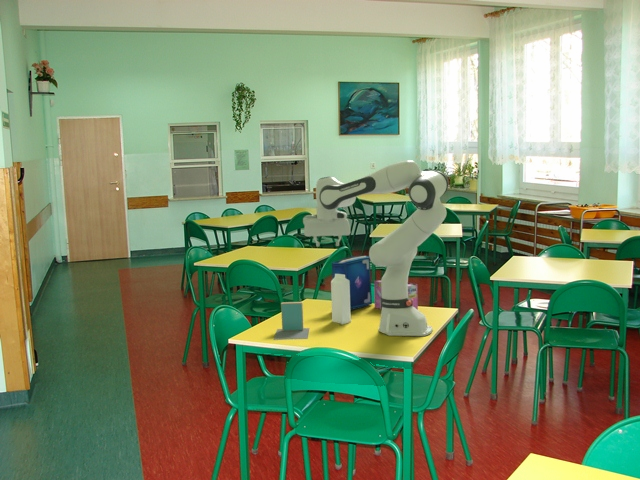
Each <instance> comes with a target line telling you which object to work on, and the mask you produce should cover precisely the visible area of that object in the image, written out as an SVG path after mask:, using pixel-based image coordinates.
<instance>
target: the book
mask: <svg viewBox="0 0 640 480" xmlns="http://www.w3.org/2000/svg"><path fill="white" fill-rule="evenodd" d="M331 273H332V275H331V277H332V280H333V279H334V277H335V274H344V275H345V278H346V279H348V280H349V282H350V311H354V310H358V309H362V308H365V307H367V306H370V305H372V304H373V297H372V295H373V294H372V279H371V278H372V276H371V275H372V274H371V273H372V272H371V260H370V257H369V255H354V256H349V257H348V256H347V257H345V258H341V259H340V260H335V261H333V262H331ZM357 308H358V309H357ZM353 309H354V310H353Z"/></svg>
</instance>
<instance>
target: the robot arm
mask: <svg viewBox="0 0 640 480" xmlns="http://www.w3.org/2000/svg"><path fill="white" fill-rule="evenodd" d="M315 185H316V187H315V199H316V214H306V215H304V217H303V218H302V223H303V226H304V229H303V235H304V236H305V237H312V238H313V241H314V242H315V247H321V246H320V245H321V243H320V241H318V240H317V239H318V238H317V237H326V236H327V237H329V236H332V237H333V236H337V237H338V240H337V241H335V246H336V247H339V246H340V242H341V240H342V236H350V235H351V225H350V221H349V220H348V214H347V213H346V212H345V211H342V210H338V208H346V207H350V206H353V205H354V204H355V202H356V199H357V197H359V196H363V195H365V196H366V195H385V194H386V195H387V194H392V193H396V192H399V191H402V190H405V189H408V192H407V193H408V196H409V200H411V202H412V203H413V204H414V205H415V208H416V210H414V212H413V213H412V214H411V215H410V216H409V217H408V218H407V219H406V220H405V221H404V222H403V223H402V224H400V225H399V226H398V227H396V229H395V230H392V231H391V232H390V233H388V234H387V235H386V236H384V237H383V238H382V239H380V240H379V241H377V242H376V243H374V244H372V246H370V247H369V251H368V256H369V257H370V263H372V264H373V265H374V266H376V267H381V268H382V267H383V268H384V267H385V268H386V270H385V271H384V274H382V275H383V276H382V277H381V280H380V281H381V295H382V297H381V300H380V307H381V309H380V310H381V312H380V320H379V321H380V322H379V325H378V326H379V327H378V332H380V333H383V334H385V335H386V336H392V337H394V336H399V337H402V336H403V337H404V336H405V337H410V336H411V337H425V336H428V335H430V334H431V333H432V332H433V327H432V326H431V325H428V320H427V317H426V315H425V314H424V313H423V312H421V311H420V310H419V309H418V310H417V309H416V308H415V307H413V298H412V299H411V298H409V297H408V283H409V274H410V271H411V270H410V269H411V267H412V262H413V261H414V259H415V257H416V256H417V253H418V247H419V246H421V245H422V244H423V243H424V242H425V241H426V240H427V239H428V238H429V237H430V236H431V235H432V234H434V232H436V230H438V229H439V227H440V226H441V225H442V223H443V222H444V221H445V219H446V217H447V213H448V212H447V209H446V207H445V205H444V204H443V203H442V201H441V197H442V196H444V194H446V193H447V191H448V189H449V185H450V181H449V178H448V176H447V175H446V174H445V173H444V172H442V171H439V170H432V169H428V168H425V169H423V170H422V169H421V168H420V166H419V164H418V163H417V162H416V161H415V160H411V159H409V160H408V159H407V160H402V161H398V162H393V163H391V164H387V165H386V166H383V167H381V168H379V169H377V170H375V171H373V172H371V173H369V174H367V175H365V176H363V177H361V178H359V179H355V180H353V181H350V182H347V183H344V182H341V181H339V180H338V179H336V177H334V176H325V177H321V178H319V179H318V180H317V181H316V184H315Z"/></svg>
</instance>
